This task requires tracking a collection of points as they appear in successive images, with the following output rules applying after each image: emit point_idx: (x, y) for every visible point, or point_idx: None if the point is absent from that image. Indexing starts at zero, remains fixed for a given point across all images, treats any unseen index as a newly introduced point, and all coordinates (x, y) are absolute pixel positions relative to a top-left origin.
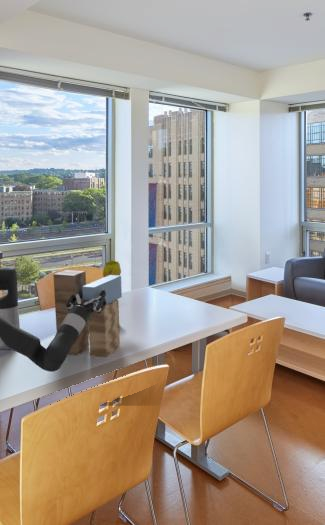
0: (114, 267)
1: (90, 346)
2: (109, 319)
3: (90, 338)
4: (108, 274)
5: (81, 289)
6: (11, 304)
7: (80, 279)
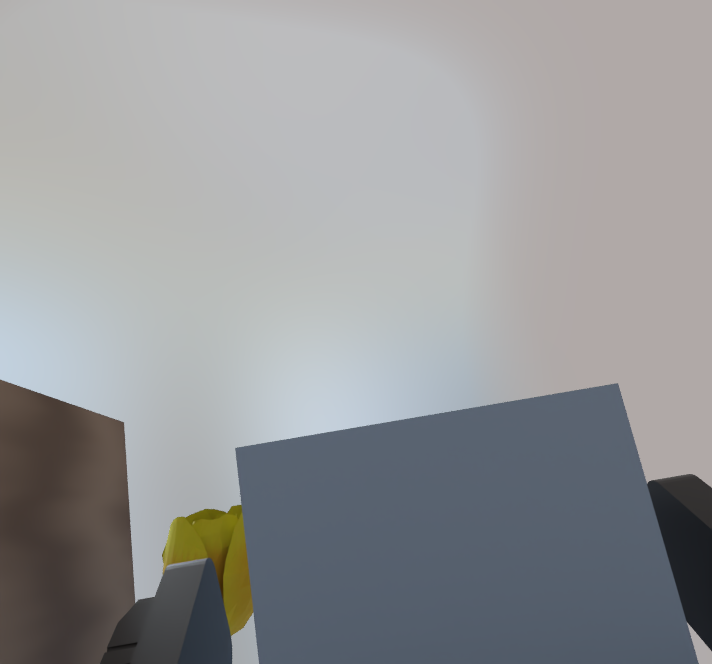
0: (238, 528)
1: None
2: None
3: None
4: None
5: (159, 598)
6: None
7: (72, 498)
